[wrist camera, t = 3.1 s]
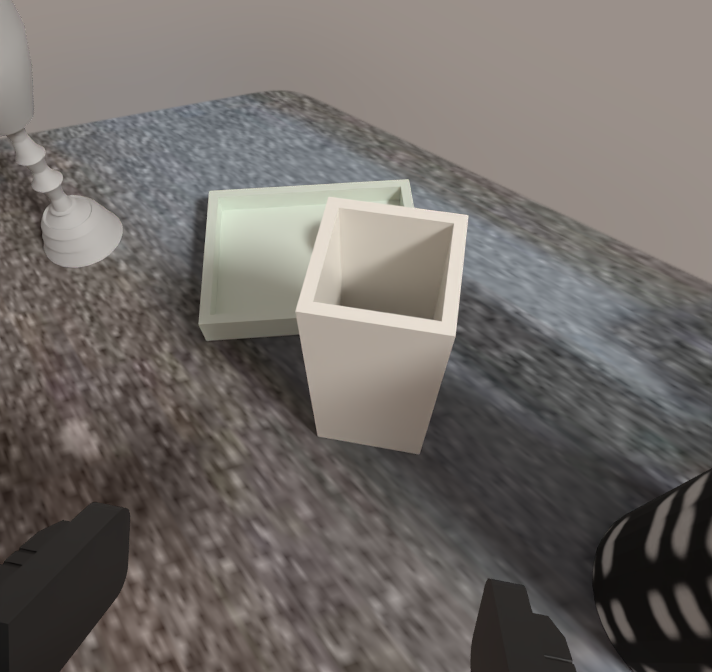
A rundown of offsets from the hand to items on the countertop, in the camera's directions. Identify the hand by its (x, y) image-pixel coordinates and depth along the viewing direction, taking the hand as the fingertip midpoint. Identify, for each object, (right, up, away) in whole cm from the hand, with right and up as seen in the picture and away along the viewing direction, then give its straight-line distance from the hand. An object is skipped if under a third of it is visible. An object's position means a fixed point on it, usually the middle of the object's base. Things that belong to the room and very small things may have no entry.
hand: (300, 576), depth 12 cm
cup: (+2, +2, +18) cm, 18 cm away
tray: (-1, +10, +23) cm, 25 cm away
